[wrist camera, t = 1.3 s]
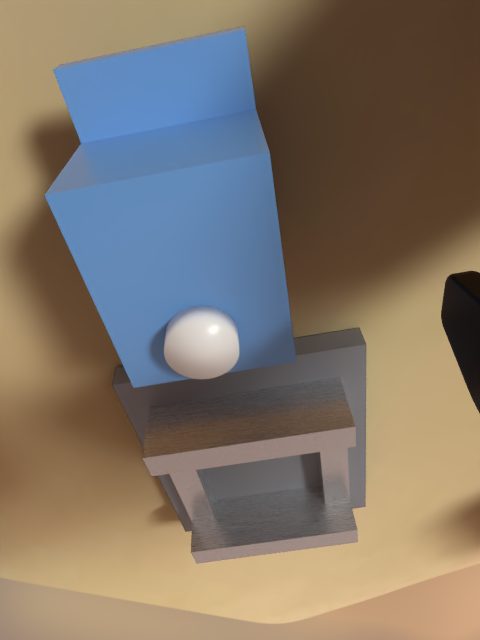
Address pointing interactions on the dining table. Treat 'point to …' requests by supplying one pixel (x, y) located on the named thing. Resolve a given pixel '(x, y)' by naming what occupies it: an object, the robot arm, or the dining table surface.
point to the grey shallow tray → (261, 449)
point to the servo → (175, 209)
